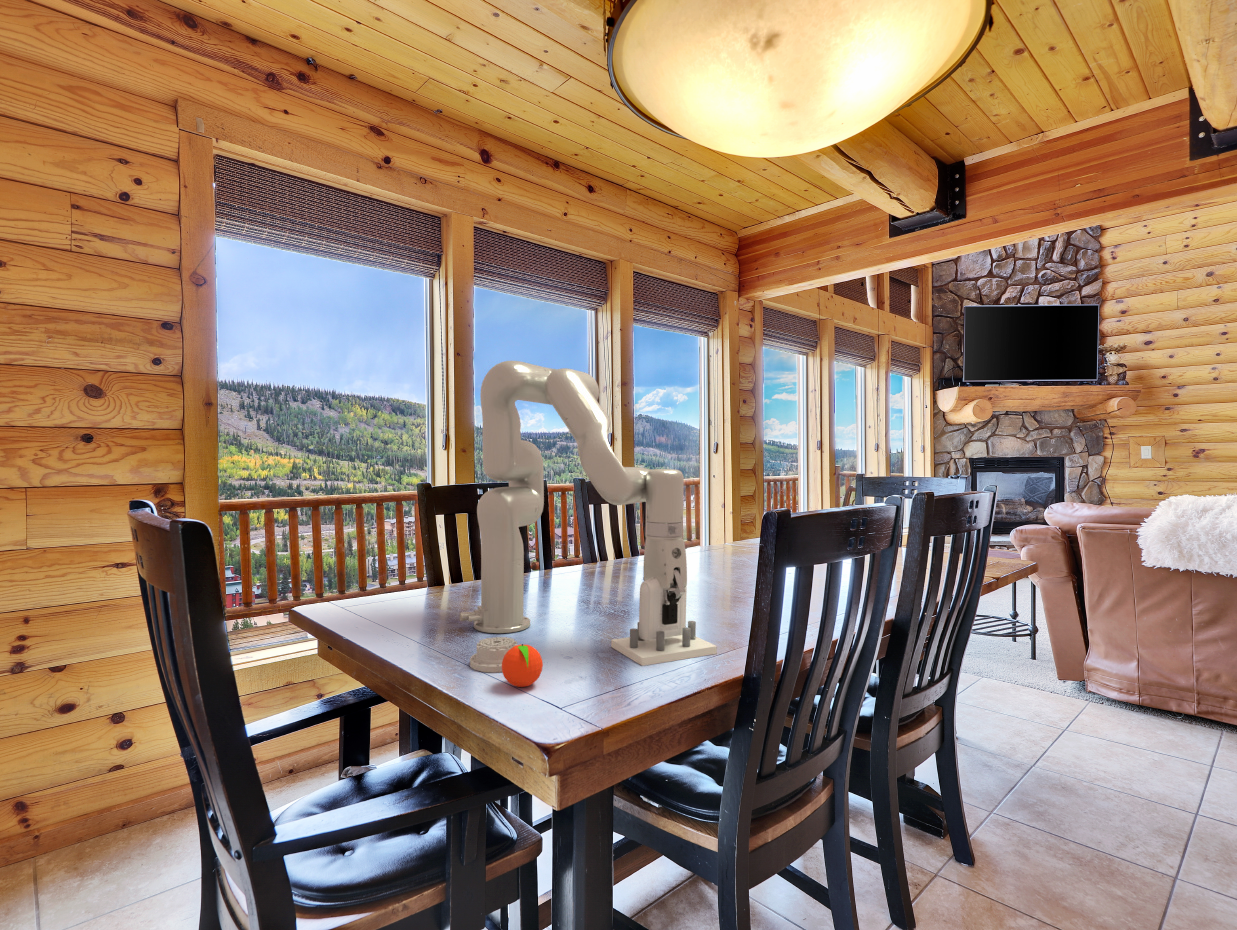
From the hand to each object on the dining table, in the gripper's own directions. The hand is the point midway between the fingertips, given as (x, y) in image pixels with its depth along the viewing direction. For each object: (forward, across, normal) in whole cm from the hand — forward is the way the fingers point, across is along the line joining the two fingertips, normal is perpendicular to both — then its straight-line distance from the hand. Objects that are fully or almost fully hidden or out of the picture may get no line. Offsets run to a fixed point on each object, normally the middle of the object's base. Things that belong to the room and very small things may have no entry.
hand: (662, 619), depth 130 cm
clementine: (+7, -7, +32) cm, 33 cm away
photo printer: (+4, 0, 0) cm, 4 cm away
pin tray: (+6, 0, 0) cm, 6 cm away
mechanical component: (+7, +6, +32) cm, 34 cm away
